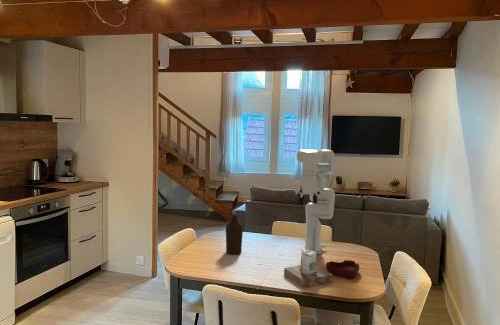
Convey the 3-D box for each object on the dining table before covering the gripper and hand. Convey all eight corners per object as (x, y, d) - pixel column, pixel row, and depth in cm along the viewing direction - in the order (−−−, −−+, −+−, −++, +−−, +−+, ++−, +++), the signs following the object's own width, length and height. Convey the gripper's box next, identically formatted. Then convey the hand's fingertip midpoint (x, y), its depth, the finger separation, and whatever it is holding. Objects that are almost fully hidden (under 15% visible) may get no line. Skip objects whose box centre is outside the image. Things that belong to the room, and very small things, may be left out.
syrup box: (306, 275, 209) (307, 249, 208) (315, 278, 205) (316, 251, 203) (299, 278, 205) (300, 251, 203) (309, 281, 201) (310, 254, 199)
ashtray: (337, 281, 202) (338, 272, 202) (323, 270, 218) (323, 261, 217) (367, 278, 207) (368, 269, 207) (351, 267, 223) (352, 259, 222)
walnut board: (311, 270, 217) (311, 263, 216) (332, 282, 201) (332, 274, 201) (284, 275, 209) (284, 267, 208) (303, 288, 193) (303, 280, 192)
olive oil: (232, 256, 236) (232, 215, 233) (221, 251, 244) (222, 212, 241) (245, 253, 242) (246, 213, 240) (235, 248, 251) (236, 210, 248)
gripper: (317, 172, 224) (316, 201, 226) (292, 173, 216) (291, 203, 218) (325, 173, 217) (324, 204, 219) (299, 175, 210) (298, 206, 211)
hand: (307, 203), depth 219 cm, fingers open, 9 cm apart
